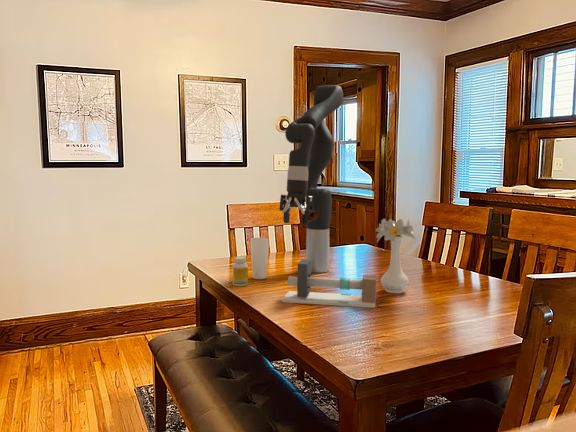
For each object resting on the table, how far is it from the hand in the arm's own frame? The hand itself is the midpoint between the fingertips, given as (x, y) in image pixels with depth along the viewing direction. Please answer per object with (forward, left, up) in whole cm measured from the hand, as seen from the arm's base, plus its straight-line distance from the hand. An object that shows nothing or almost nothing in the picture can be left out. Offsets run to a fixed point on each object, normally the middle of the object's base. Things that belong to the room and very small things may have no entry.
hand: (295, 224), depth 180 cm
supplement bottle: (+15, -14, -22) cm, 29 cm away
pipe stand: (+16, +22, -21) cm, 35 cm away
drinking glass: (+3, -14, -22) cm, 26 cm away
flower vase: (-6, +35, -21) cm, 42 cm away
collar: (+19, +15, -20) cm, 31 cm away
